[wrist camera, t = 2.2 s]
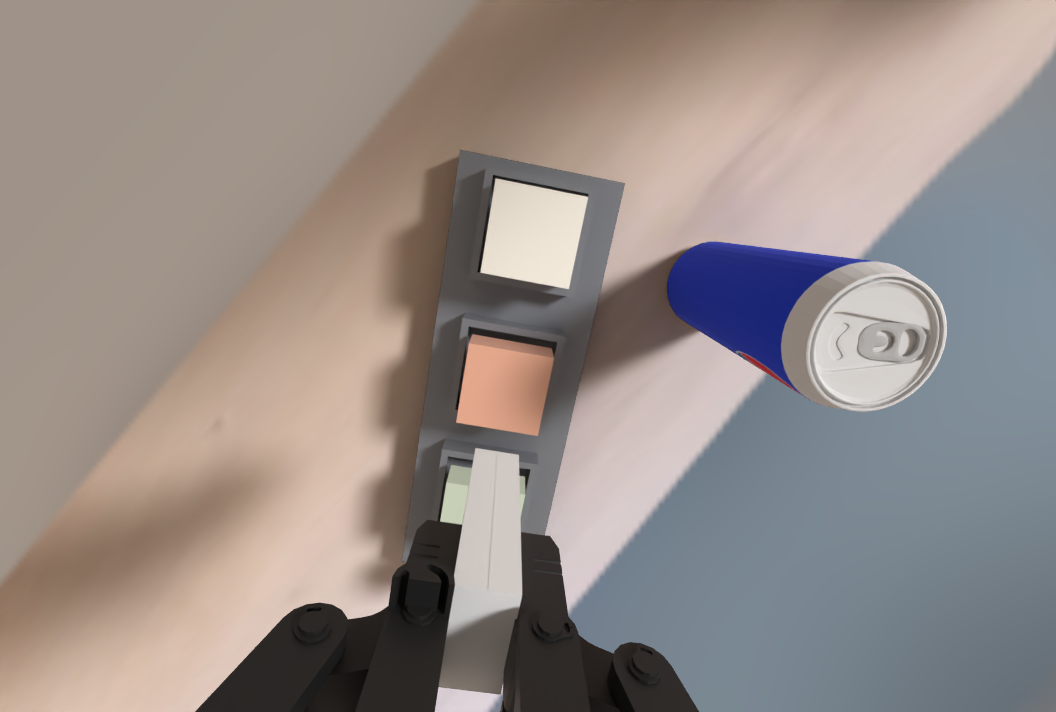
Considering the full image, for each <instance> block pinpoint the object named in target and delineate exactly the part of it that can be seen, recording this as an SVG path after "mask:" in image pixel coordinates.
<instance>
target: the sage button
mask: <svg viewBox="0 0 1056 712" xmlns="http://www.w3.org/2000/svg"><path fill="white" fill-rule="evenodd" d="M471 470H472V468H468V467H461V466H455V465H451V468H450V471H449V475H448V479H447V482H446V489H445V495H444V501H443V507H442V513H441V519H440V521H441V522H448V523H455V524H461V525H462V522H463V516H464V510H465V505H466V499H467V493H468V488H469V482H470V476H471ZM519 480H520V518H521V513H522V509H523V504H524V499H525V477H524V476H519Z"/></svg>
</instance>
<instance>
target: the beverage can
mask: <svg viewBox="0 0 1056 712" xmlns="http://www.w3.org/2000/svg"><path fill="white" fill-rule="evenodd" d="M667 294H668V300H669V303H670V305H671V307H672V309H673V311H674V312H675V313H676V315H677V316H678V317H679V318H680V319H682V320H683V321H685V322H686V323H688V324H689V325H691V326H692V327H694V328H696V329H697V330H699V331H700V332H702V333H704V334H705V335H707V336H708V337H710V338H712V339H713V340H715V341H716V342H718V343H720V344H721V345H723V346H724V347H726V348H728V349H729V350H731V351H732V352H734V353H735V354H737V355H739V356H740V357H742V358H743V359H745V360H747V361H748V362H750V363H751V364H753V365H755V366H756V367H758V368H759V369H761V370H763V371H764V372H766V373H767V374H769V375H771V376H772V377H774V378H775V379H777V380H779V381H780V382H782V383H783V384H785V385H787V386H788V387H790V388H791V389H793V390H795V391H796V392H798V393H799V394H801V395H803V396H804V397H806V398H807V399H809V400H811V401H813V402H815V403H817V404H819V405H823V406H827V407H832V408H840V409H847V410H852V411H873V410H878V409H883V408H886V407H889V406H892V405H894V404H896V403H898V402H900V401H902V400H904V399H905V398H907V397H908V396H910V395H911V394H912V393H913V392H915V391H916V390H917V389H918V388H919V387H920V386H922V384H923V383H924V382H925V381H926V380H927V379H928V378H929V376H930V375H931V373H932V372H933V371H934V369H935V367H936V366H937V363H938V362H939V360H940V358H941V355H942V352H943V350H944V346H945V341H946V336H947V323H946V315H945V312H944V309H943V306H942V304H941V302H940V300H939V298H938V296H937V295H936V294H935V293H934V291H933V290H932V289H931V288H930V287H929V286H927V285H926V284H925V283H923V282H922V281H920V280H918V279H917V278H916V277H914V276H912V275H911V274H910V273H908V272H907V271H905V270H903V269H901V268H899V267H897V266H895V265H891V264H888V263H884V262H876V261H868V260H860V259H852V258H844V257H836V256H828V255H820V254H812V253H804V252H796V251H787V250H779V249H771V248H763V247H755V246H747V245H739V244H731V243H723V242H706V243H702V244H699V245H696V246H694V247H692V248H690V249H689V250H687V251H686V252H685V253H684V254H683V255H682V256H681V257H680V258H679V259H678V260H677V261H676V263H675V264H674V266H673V268H672V270H671V272H670V275H669V278H668V283H667Z"/></svg>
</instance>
